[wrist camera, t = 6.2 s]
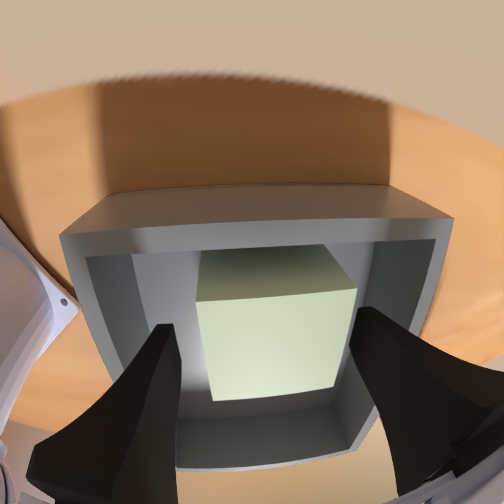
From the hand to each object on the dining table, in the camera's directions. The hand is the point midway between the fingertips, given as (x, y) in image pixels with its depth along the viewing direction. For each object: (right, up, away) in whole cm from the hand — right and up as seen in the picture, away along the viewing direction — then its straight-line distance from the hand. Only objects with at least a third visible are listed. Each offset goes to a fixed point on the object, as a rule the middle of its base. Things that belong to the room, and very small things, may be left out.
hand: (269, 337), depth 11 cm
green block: (0, +2, +3) cm, 4 cm away
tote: (0, -2, +6) cm, 6 cm away
